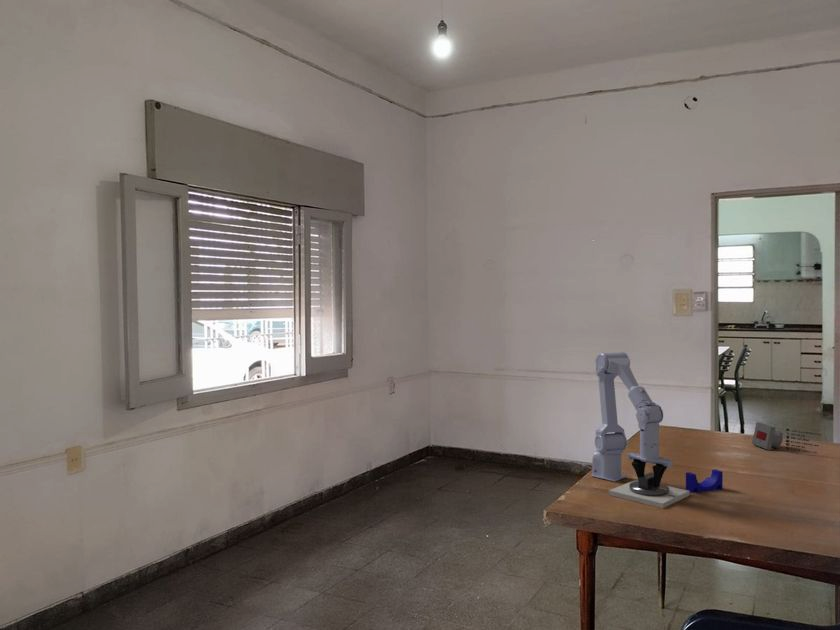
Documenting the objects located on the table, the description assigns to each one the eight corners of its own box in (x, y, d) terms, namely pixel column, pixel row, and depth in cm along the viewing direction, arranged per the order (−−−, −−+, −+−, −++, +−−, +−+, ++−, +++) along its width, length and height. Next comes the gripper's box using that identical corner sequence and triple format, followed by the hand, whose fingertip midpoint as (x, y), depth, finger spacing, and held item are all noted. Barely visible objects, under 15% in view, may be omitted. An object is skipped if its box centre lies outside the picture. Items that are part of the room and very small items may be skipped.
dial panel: (608, 494, 207) (608, 489, 207) (637, 483, 219) (637, 478, 219) (662, 508, 194) (662, 502, 193) (689, 495, 206) (689, 490, 206)
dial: (622, 489, 206) (622, 475, 206) (640, 481, 215) (641, 468, 215) (657, 498, 198) (658, 483, 198) (676, 489, 206) (676, 475, 206)
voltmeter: (746, 447, 270) (746, 424, 269) (757, 443, 277) (757, 420, 277) (818, 459, 250) (818, 434, 249) (827, 454, 257) (828, 429, 257)
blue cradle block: (712, 486, 216) (712, 468, 216) (722, 489, 212) (722, 471, 212) (682, 489, 213) (682, 471, 213) (692, 493, 208) (692, 475, 208)
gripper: (622, 441, 208) (622, 483, 209) (665, 449, 198) (664, 492, 198) (633, 437, 213) (633, 478, 214) (675, 445, 202) (675, 488, 203)
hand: (649, 485), depth 206 cm, fingers open, 5 cm apart
